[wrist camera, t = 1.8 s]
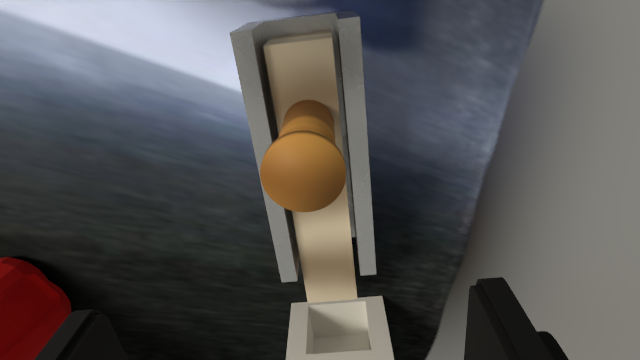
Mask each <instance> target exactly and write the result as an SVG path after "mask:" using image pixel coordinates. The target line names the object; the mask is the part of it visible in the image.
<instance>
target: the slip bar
mask: <svg viewBox="0 0 640 360" xmlns="http://www.w3.org/2000/svg"><path fill="white" fill-rule="evenodd" d="M263 47H264V53H265V59H266V65H267V70H268V76H269V82H270V88H271V93H272V99H273V105H274V111H275V116H276V122H277V128H278V134H279V137H278V138H277V139H276V140H275V141H274V142H273V143H272V144H271V145H270V146H269V147H268V149H267V150H266V152H265V154H264V157H263V160H262V163H261V168H260V177H261V182H262V185H263V188H264V190H265V191H266V193H267V195H268V196H269V197H270V198H271V199H272V200H273V201H274V202H275V203H277V204H278V205H280V206H281V207H283V208H286V209H288V210H291V211H292V214H293V220H294V226H295V231H296V237H297V243H298V249H299V254H300V260H301V266H302V272H303V277H304V283H305V289H306V295H307V300H308V303H316V302H328V301H340V300H353V299H357V291H356V281H355V270H354V260H353V249H352V239H351V229H350V218H349V208H348V198H347V187H346V167H345V161H344V156H343V146H342V135H341V125H340V115H339V104H338V94H337V83H336V73H335V63H334V52H333V42H332V34H331V30H329V31H320V32H312V33H304V34H296V35H288V36H280V37H272V38H271V39H270V40H269V41H268V42H267V43H266V44H265V45H264V46H263Z"/></svg>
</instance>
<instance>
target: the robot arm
mask: <svg viewBox="0 0 640 360" xmlns="http://www.w3.org/2000/svg"><path fill="white" fill-rule="evenodd" d="M34 360H129V359H128V357H127V355H126V353H125V351H124V349H123V347H122V345H121V343H120V341H119V339H118V336H117V334H116V332H115V330H114V328H113V326H112V324H111V322H110V320H109V318H108V317H107V315H105V314H103V313H102V312H101V311H100V310H98V309H91V310H78V311H74V312H72V313H71V314H70V315H69V316H68V317H67V318H66V319H65V321H64V322H63V323H62V325H61V326H60V327H59V328H58V330H57V331H56V332H55V334H54V335H53V336H52V337H51V339H50V340H49V341H48V342H47V344H46V345H45V346H44V348H43V349H42V350H41V351H40V353H39V354H38V355H37V357H36V358H35V359H34ZM464 360H568V358H567V356H566V355H565V353H564V352H563V350H562V349H561V347H560V346H559V344H558V343H557V341H556V340H555V339H554V337H553V336H552V335H551V334H550V333H548V332H545V331H541V332H537V331H536V330H535V328H534V326H533V325H532V323H531V322H530V320H529V318H528V317H527V315H526V313H525V312H524V310H523V308H522V307H521V305H520V303H519V302H518V300H517V299H516V297H515V295H514V294H513V292H512V291H511V289H510V287H509V286H508V284H507V282H506V281H505V279H504V278H502V277H500V278H487V279H478V280H477V283H476V285H475V286H470V289H469V301H468V314H467V327H466V341H465V354H464Z"/></svg>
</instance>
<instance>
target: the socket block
mask: <svg viewBox="0 0 640 360" xmlns="http://www.w3.org/2000/svg"><path fill="white" fill-rule="evenodd" d="M286 360H394V356H393V351H392V345H391V340H390V335H389V329H388V324H387V318H386V313H385V308H384V302H383V297H382V296H375V297H362V298H357V299H353V300H340V301H328V302H316V303H308V302H300V303H291V313H290V323H289V333H288V343H287V353H286Z"/></svg>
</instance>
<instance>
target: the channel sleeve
mask: <svg viewBox="0 0 640 360" xmlns="http://www.w3.org/2000/svg"><path fill="white" fill-rule="evenodd" d="M329 30H331V34H332V42H333V52H334V63H335V73H336V83H337V94H338V104H339V115H340V125H341V135H342V146H343V156H344V161H345V167H346V187H347V198H348V208H349V218H350V229H351V237H356V244H357V252H358V260H359V268H360V276H363V275H375V274H376V260H375V244H374V229H373V213H372V198H371V182H370V166H369V151H368V135H367V120H366V104H365V89H364V73H363V57H362V42H361V26H360V16H359V15H358V14H357V13H356V12H355V11H353V10H346V11H338V12H330V13H322V14H314V15H306V16H298V17H290V18H282V19H274V20H266V21H258V22H250V23H247V24H245V25H243V26H241V27H239V28H238V29H236V30H234V31H232V32H230V36H231V41H232V46H233V51H234V55H235V60H236V65H237V70H238V75H239V79H240V84H241V89H242V94H243V99H244V103H245V108H246V113H247V118H248V123H249V127H250V132H251V137H252V142H253V147H254V151H255V156H256V161H257V166H258V171H259V175H260V168H261V163H262V160H263V157H264V154H265V152H266V150H267V149H268V147H269V146H270V145H271V144H272V143H273V142H274V141H275V140H276V139H277V138H278V137H279V134H278V128H277V122H276V116H275V111H274V105H273V99H272V93H271V88H270V82H269V76H268V70H267V65H266V59H265V53H264V47H263V46H264V45H265V44H266V43H267V42H268V41H269V40H270V39H271V38H272V37H280V36H288V35H296V34H304V33H312V32H320V31H329ZM260 180H261V177H260ZM261 185H262V182H261ZM262 190H263V195H264V199H265V204H266V209H267V214H268V219H269V224H270V228H271V233H272V238H273V243H274V248H275V252H276V257H277V262H278V267H279V272H280V276H281V281H282V282H291V281H297V279H298V268H299V257H300V254H299V249H298V243H297V237H296V231H295V226H294V220H293V214H292V211H291V210H288V209H286V208H283V207H281V206H280V205H278V204H277V203H275V202H274V201H273V200H272V199H271V198H270V197H269V196H268V195H267V193H266V191H265V190H264V188H263V185H262Z"/></svg>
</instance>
